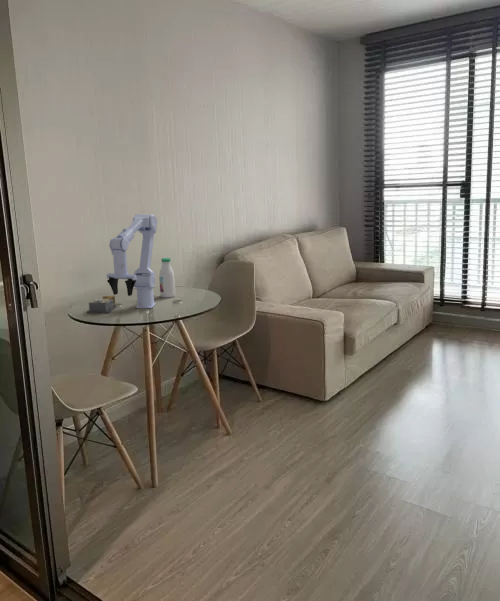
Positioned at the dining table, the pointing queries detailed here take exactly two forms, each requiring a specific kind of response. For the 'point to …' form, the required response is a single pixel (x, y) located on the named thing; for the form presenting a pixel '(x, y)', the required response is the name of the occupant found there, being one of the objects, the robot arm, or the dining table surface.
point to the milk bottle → (166, 279)
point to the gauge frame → (101, 306)
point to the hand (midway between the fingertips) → (122, 294)
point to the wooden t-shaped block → (109, 298)
